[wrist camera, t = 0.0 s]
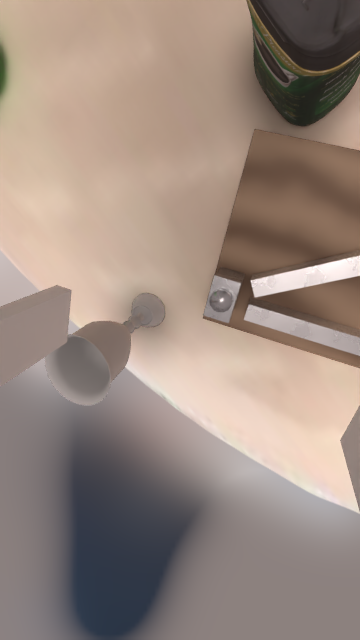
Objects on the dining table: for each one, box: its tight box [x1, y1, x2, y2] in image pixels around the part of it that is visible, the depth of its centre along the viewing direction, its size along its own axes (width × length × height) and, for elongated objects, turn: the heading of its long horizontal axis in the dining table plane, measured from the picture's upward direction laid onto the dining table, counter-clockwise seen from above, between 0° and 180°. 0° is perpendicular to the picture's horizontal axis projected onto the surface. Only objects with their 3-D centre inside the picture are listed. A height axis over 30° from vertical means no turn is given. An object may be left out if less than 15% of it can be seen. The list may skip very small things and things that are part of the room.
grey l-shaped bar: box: [203, 267, 360, 356], centre depth 35 cm, size 28×5×6 cm, turn 77°
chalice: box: [45, 293, 165, 405], centre depth 37 cm, size 7×7×18 cm
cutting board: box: [203, 129, 360, 368], centre depth 35 cm, size 22×30×2 cm
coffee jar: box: [247, 0, 360, 126], centre depth 23 cm, size 10×8×19 cm
